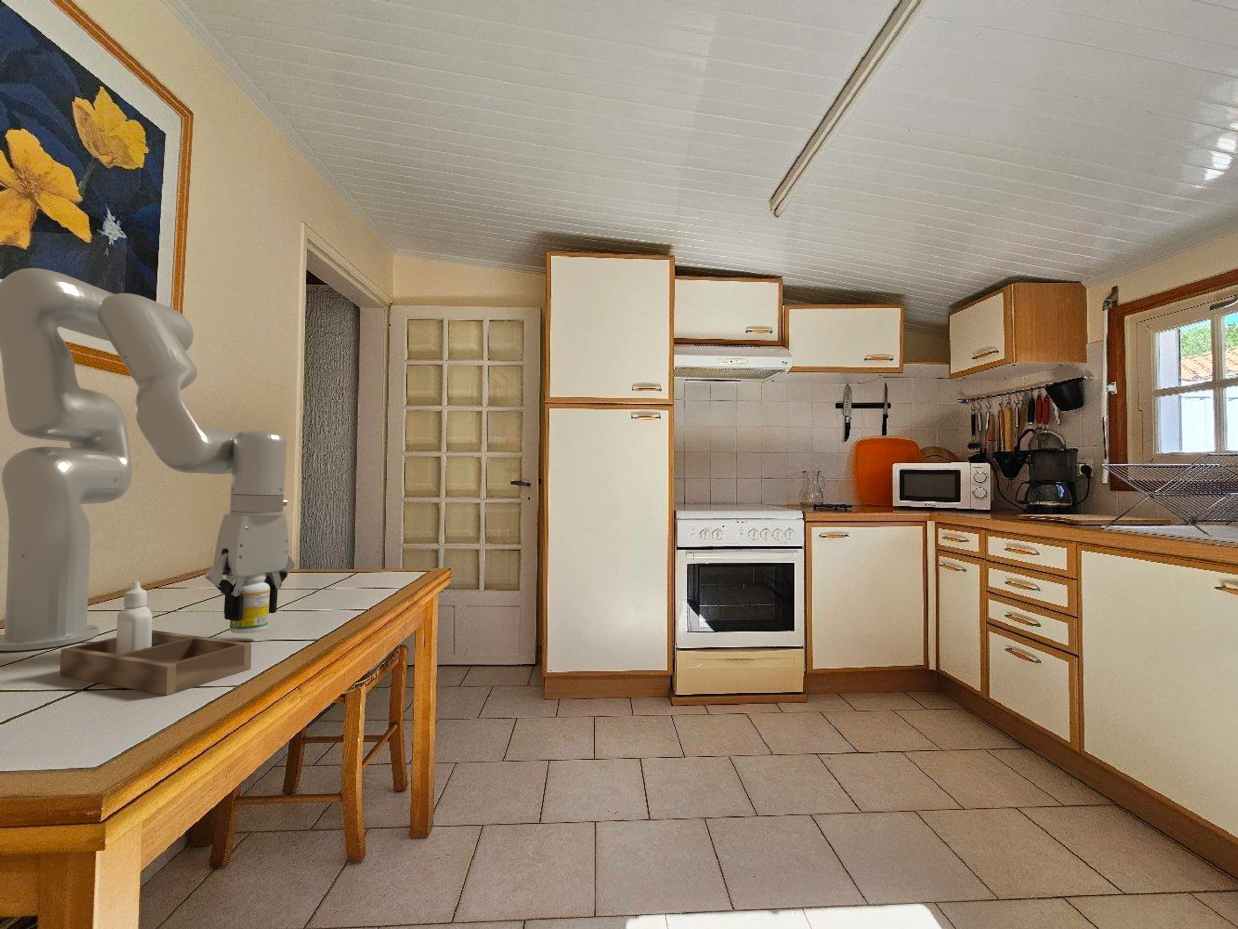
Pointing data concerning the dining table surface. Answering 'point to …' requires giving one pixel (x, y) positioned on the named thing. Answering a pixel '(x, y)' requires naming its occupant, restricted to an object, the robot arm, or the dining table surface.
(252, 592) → the supplement bottle
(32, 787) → the dining table surface
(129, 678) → the walnut rack
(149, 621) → the eye dropper bottle
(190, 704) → the dining table surface
